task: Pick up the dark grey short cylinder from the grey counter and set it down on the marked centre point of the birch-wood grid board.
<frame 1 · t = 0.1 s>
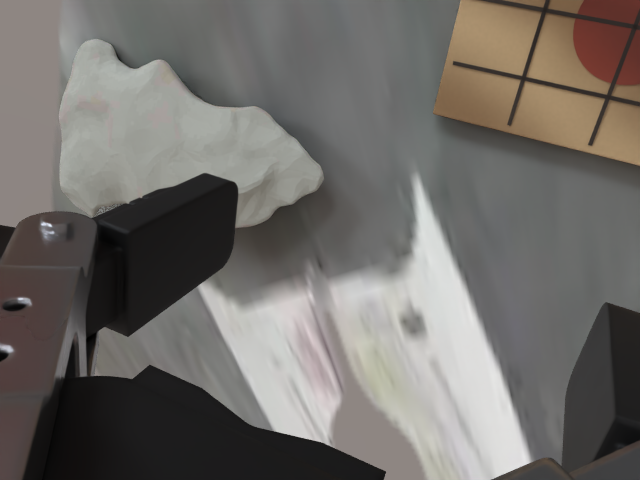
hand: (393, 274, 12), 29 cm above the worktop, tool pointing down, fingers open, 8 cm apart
grid board: (633, 26, 33), on the worktop
stone tool replica: (199, 143, 49), on the worktop
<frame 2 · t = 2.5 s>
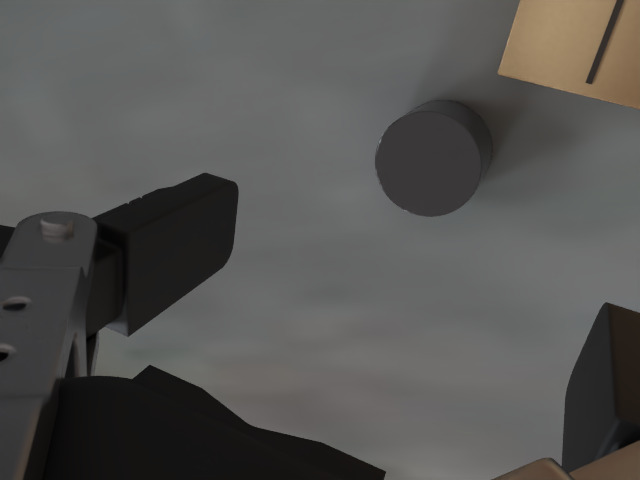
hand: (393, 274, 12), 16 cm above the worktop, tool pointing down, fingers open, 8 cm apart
dark grey short cylinder: (442, 149, 27), on the worktop
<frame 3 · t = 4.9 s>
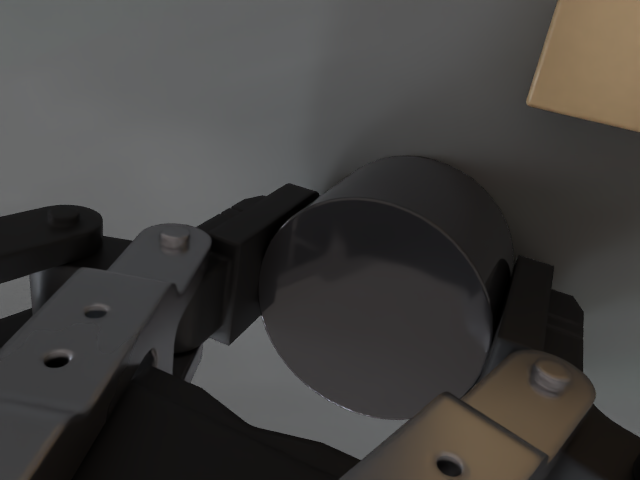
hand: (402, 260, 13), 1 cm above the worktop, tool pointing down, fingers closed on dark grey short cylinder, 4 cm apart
dark grey short cylinder: (410, 252, 13), on the worktop, touching gripper
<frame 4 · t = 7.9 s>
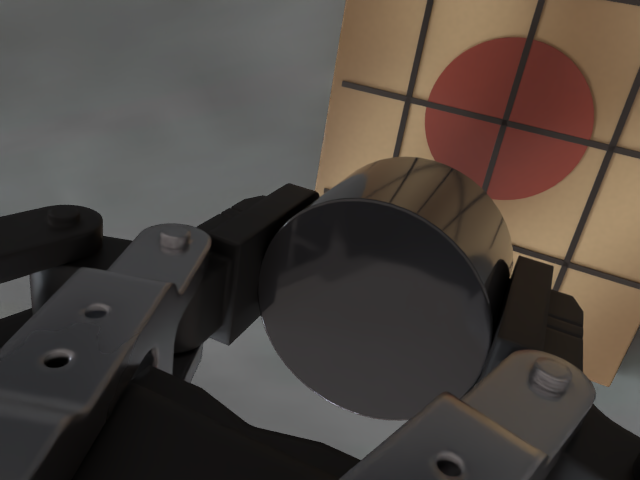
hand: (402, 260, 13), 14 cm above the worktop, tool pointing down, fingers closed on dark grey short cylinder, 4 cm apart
grid board: (508, 117, 24), on the worktop
dark grey short cylinder: (410, 253, 13), point 13 cm above the worktop, touching gripper
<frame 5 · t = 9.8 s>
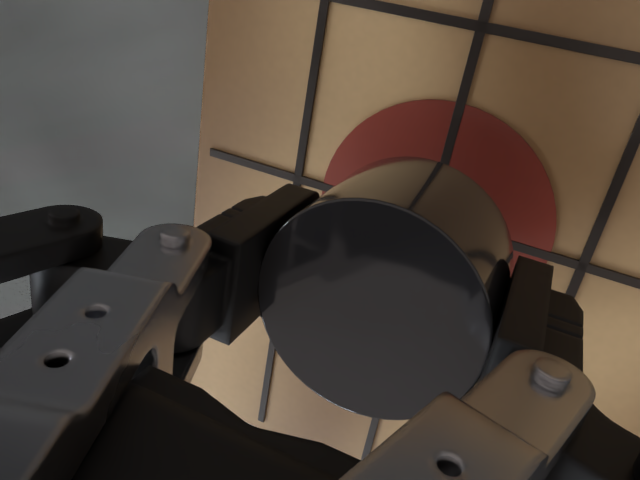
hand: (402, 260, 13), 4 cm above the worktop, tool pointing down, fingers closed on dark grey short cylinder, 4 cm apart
grid board: (439, 205, 17), on the worktop
dark grey short cylinder: (410, 252, 13), point 4 cm above the worktop, touching gripper
when the fingers open (2 cm above the worktop, at t = 11.0 s): dark grey short cylinder stays where it is, resting on grid board.
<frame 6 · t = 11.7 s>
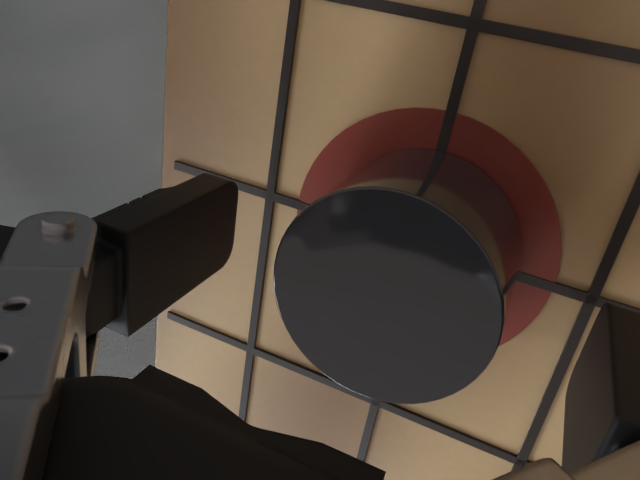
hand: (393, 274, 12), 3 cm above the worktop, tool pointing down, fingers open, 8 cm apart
grid board: (429, 225, 15), on the worktop
dark grey short cylinder: (420, 243, 14), point 1 cm above the worktop, touching grid board
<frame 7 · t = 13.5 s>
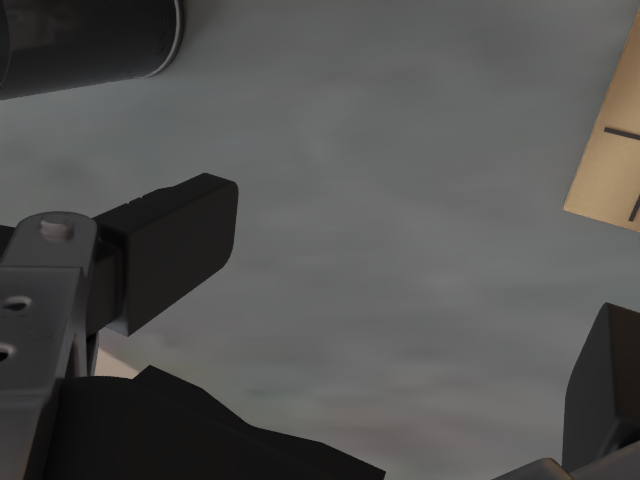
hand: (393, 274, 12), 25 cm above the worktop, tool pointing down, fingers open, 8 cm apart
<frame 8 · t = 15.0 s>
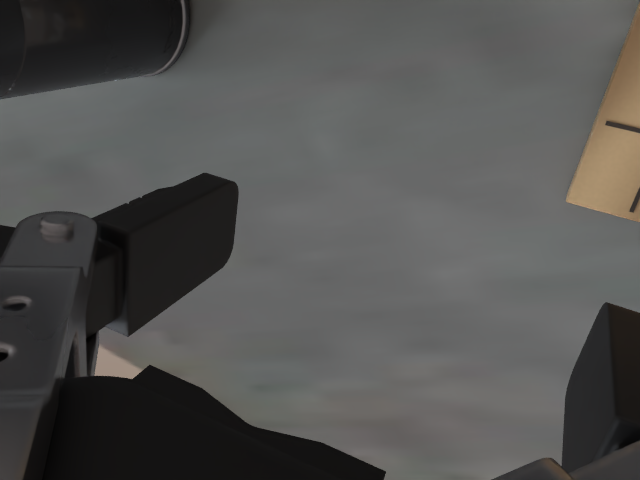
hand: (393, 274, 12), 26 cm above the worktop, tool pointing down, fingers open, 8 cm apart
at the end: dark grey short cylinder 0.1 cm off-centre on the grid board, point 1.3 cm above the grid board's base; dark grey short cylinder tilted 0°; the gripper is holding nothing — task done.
